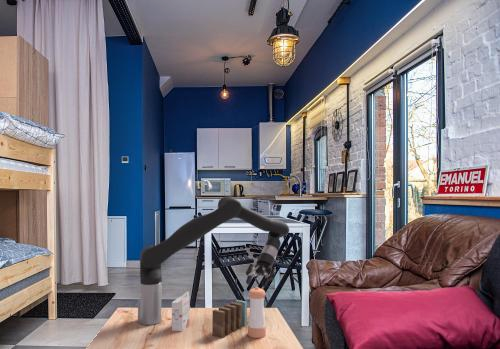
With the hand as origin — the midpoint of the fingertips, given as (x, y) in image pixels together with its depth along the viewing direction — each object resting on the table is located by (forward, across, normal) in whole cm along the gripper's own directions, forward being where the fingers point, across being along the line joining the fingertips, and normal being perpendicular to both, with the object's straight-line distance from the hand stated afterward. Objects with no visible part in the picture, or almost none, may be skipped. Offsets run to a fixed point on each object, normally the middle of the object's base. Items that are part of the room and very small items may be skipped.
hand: (255, 285), depth 177 cm
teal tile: (+18, 0, +2) cm, 18 cm away
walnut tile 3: (+24, 0, -3) cm, 24 cm away
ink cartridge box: (+31, -19, -10) cm, 38 cm away
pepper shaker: (+23, +12, -2) cm, 26 cm away
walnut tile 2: (+21, 0, -1) cm, 21 cm away
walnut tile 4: (+27, 0, -6) cm, 27 cm away
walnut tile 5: (+30, 0, -9) cm, 31 cm away
